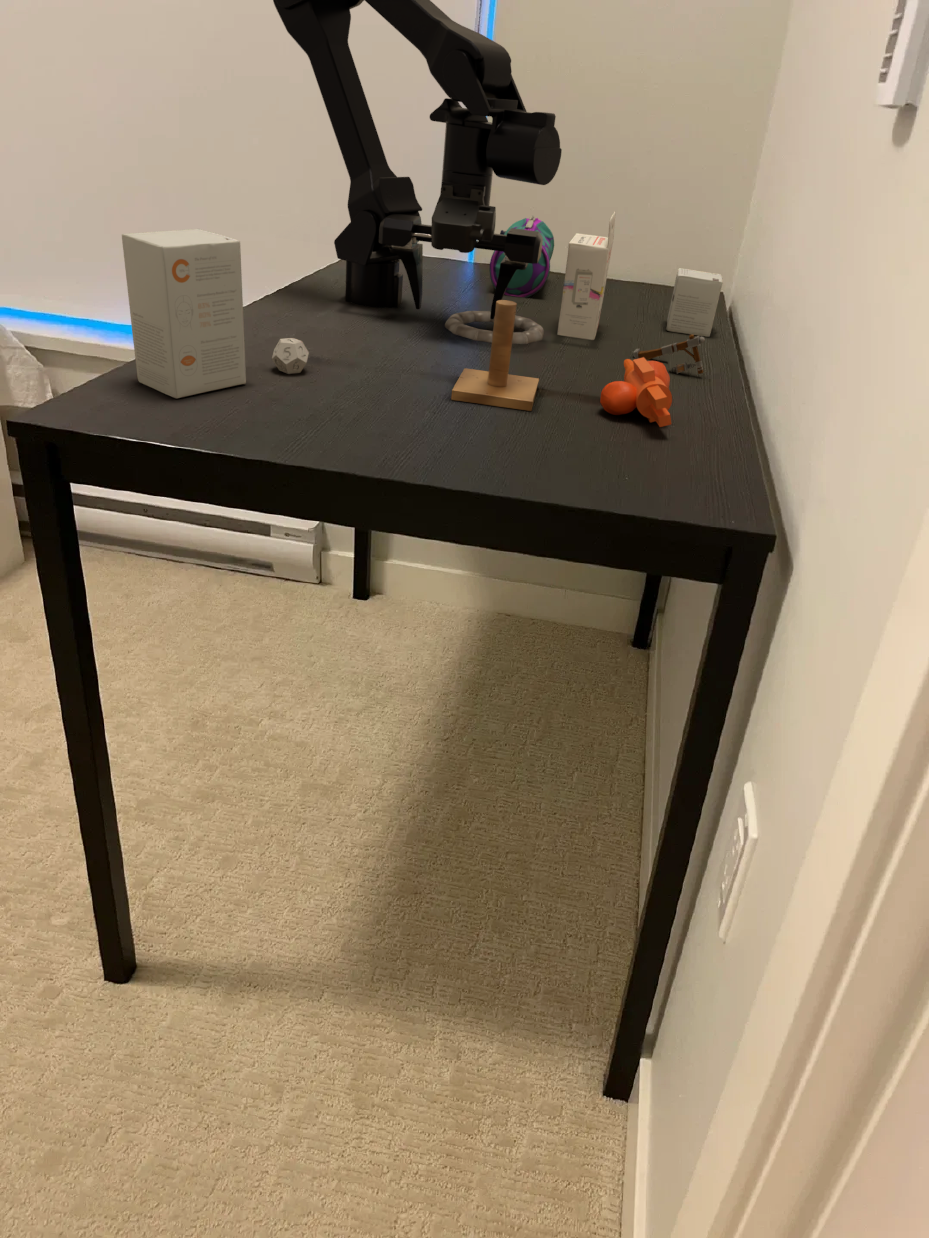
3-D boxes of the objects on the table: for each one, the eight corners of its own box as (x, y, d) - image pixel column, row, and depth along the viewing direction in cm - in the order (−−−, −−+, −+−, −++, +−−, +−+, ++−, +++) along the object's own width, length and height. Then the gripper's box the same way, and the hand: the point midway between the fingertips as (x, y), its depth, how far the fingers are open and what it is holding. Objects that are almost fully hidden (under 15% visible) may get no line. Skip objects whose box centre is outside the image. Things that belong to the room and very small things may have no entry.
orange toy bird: (689, 379, 80) (657, 343, 90) (608, 398, 81) (586, 361, 91) (694, 430, 83) (663, 390, 93) (616, 449, 84) (593, 407, 94)
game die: (281, 377, 88) (280, 347, 86) (267, 366, 91) (266, 336, 89) (313, 374, 90) (314, 344, 88) (299, 364, 92) (299, 335, 91)
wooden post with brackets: (709, 372, 101) (702, 333, 100) (641, 388, 105) (633, 350, 103) (711, 369, 103) (704, 330, 101) (644, 384, 106) (636, 347, 105)
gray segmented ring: (437, 343, 104) (438, 326, 103) (453, 320, 115) (455, 305, 114) (538, 357, 103) (540, 340, 102) (545, 333, 114) (547, 317, 113)
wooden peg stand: (451, 400, 87) (459, 305, 82) (463, 377, 94) (471, 289, 89) (531, 411, 86) (544, 317, 82) (538, 387, 93) (550, 299, 89)
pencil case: (495, 273, 144) (502, 209, 139) (549, 280, 144) (558, 216, 139) (484, 300, 127) (491, 228, 122) (545, 307, 126) (555, 235, 121)
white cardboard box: (666, 321, 126) (677, 267, 122) (709, 328, 125) (722, 273, 121) (665, 331, 121) (677, 274, 117) (710, 337, 120) (723, 281, 116)
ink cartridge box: (561, 327, 117) (578, 206, 110) (598, 332, 117) (618, 211, 109) (553, 342, 110) (572, 214, 102) (593, 348, 109) (614, 219, 102)
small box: (207, 368, 88) (199, 227, 81) (247, 384, 85) (242, 240, 78) (134, 381, 83) (119, 232, 76) (175, 400, 80) (162, 246, 73)
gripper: (369, 167, 94) (364, 318, 102) (543, 189, 93) (524, 340, 101) (392, 160, 103) (386, 298, 112) (551, 179, 102) (532, 318, 110)
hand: (455, 313), depth 108 cm, fingers open, 9 cm apart
